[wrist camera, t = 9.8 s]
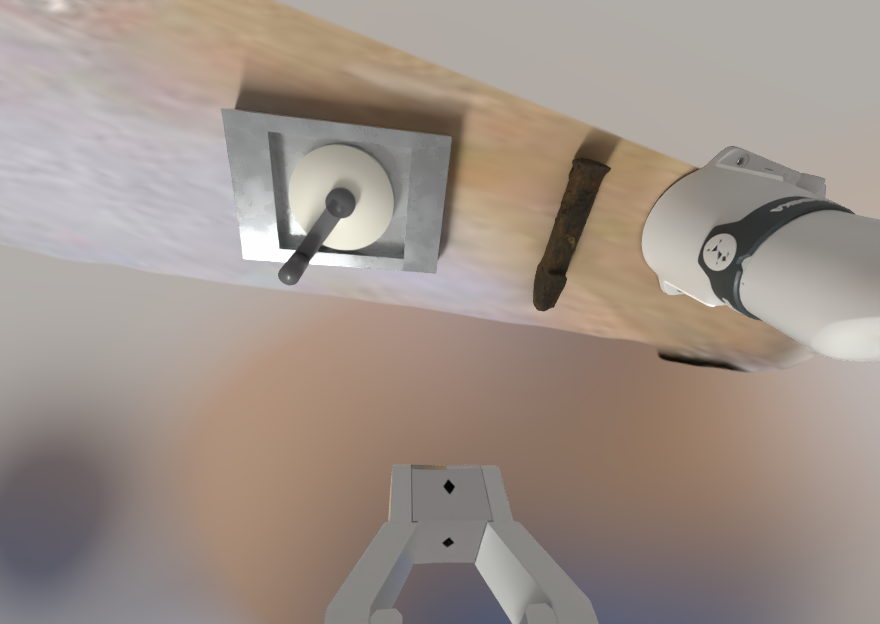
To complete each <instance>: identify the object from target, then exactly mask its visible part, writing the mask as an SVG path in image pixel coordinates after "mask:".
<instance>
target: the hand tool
mask: <svg viewBox="0 0 880 624" xmlns="http://www.w3.org/2000/svg"><path fill="white" fill-rule="evenodd" d="M572 163H573V167H574V168H573V170H572V171H571V172H570V174H569V183H568V186H567V189H566V192H565V194H564V196H563V199H562V202H561V207H560V210H559V213H558V216H557V218H556V219H555V224H554V227H553V230H552V233H551V236H550V239H549V242H548V245H547V248H546V251H545V254H544V256H543V260H542V262H541V264H539V265H538V267H537V271H536V275H535V281H534V291H533V303H534V306H535V307H536V309H537V310H538V311H546V310H548V309H550V308H552V307H554V306H555V304H556V302H557V300H558V298H559V296H560V294H561V292H562V290H563V289H564V287H565V284H566V281H567V278H566V276H565V275H566V272H567V269H568V266H569V263H570V260H571V257H572V255H573V253H574V251H575V248H576V246H577V243H578V241H579V238H580V236H581V234H582V231H583V229H584V226H585V224H586V220H587V218H588V216H589V213H590V211H591V208H592V206H593V203H594V200H595V197H596V194H597V192H598V190H599V186H600V184H601V182H602V180H603V178H604V176H605V174H607V173H608V172H609V171H610V170H611V168H610V167H608V166H606V165H604V164H602V163H600V162H596V161H593V160H590V159H583V158H581V159H574V160H573V161H572Z"/></svg>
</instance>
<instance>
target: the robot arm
mask: <svg viewBox="0 0 880 624" xmlns="http://www.w3.org/2000/svg"><path fill="white" fill-rule="evenodd" d="M739 159H740V160H739ZM738 160H739V162H738V163H737V161H738ZM824 182H825V179H824V178H821V177H818V176H814V175H809V174H804V173H802V174H801V173H799V172H796V171H794V170H792V169H789V168H787V167H785V166H782V165H780V164H777V163H775V162H772V161H770V160H768V159H765V158H763V157H761V156H758V155H755V154H753V153H751V152H749V151H746V150H744V149H741V148H738V147H735V146H730V147H727V148H725V149H724V150H723V151H721V152H720V153H719V154H718V155H717V156H715V157H714V158H713V159H712V160H711V161H710V162H709V163H708V164H707V165H706V166H704V167H703V168H701V169H699V170H697V171H695V172H693V173H691V174H689V175H687V176H685V177H684V178H682V179H681V180H679V181H678V182H676V183H675V184H674V185H673V186H671V187H670V188H669V189H668V190H667V191H666V192H665V193H664V194H663V195H662V196H661V198H660V199H659V200H658V201H657V203H656V204H655V206H654V207H653V209H652V210H651V212H650V214H649V216H648V218H647V221H646V223H645V226H644V230H643V235H642V250H643V255H644V258H645V260H646V262H647V264H648V265H649V266H650V268H651V269H652V270H653V271H654V272H655V273H656V274H657V275H658V278H659V283H660V287H661V289H662V291H663V292H665V293H667V294H669V295H677V294H687V295H689V296H691V297H693V298H694V299H696V300H698V301H700V302H702V303H704V304H706V305H708V306H711V307H714V306H716V305H728V306H729V307H730V308H732V309H733V310H735V311H737V312H738V313H741V314H743V315H746V316H748V317H750V318H753V319H756V320H761V321H764V322H766V323H768V324H769V325H771V326H773V327H774V328H776V329H778V330H780V331H781V332H783V333H785V334H786V335H788V336H790V337H791V338H793V339H795V340H796V341H798V342H800V343H801V344H803V345H805V346H806V347H808V348H810V349H811V350H813V351H815V352H816V353H818V354H821V355H823V356H826V357H830V358H834V359H840V360H847V361H857V362H871V361H880V220H878V219H873V218H868V217H864V216H859V215H856V214H855V213H853V212H852V211H851V210H849V209H847V208H845V207H843V206H841V205H839V204H837V203H835V202H833V201H830V200H827V199H826V198H825V193H826V186H825V184H824ZM388 521H389V522H385V523H384V524H383V525H382V527H381V528H380V530H379V531H378V533H377V534H376V536H375V537H374V539H373V540H372V542H371V543H370V545H369V546H368V548H367V549H366V551H365V552H364V554H363V555H362V557H361V558H360V560H359V561H358V563H357V564H356V566H355V567H354V569H353V570H352V572H351V573H350V575H349V576H348V578H347V579H346V581H345V582H344V584H343V585H342V586H341V588H340V589H339V591H338V592H337V594H336V595H335V597H334V598H333V600H332V601H331V603H330V604H329V606H328V607H327V609H326V614H325V620H324V624H402V615H401V614H400V613H399V612H398V611H397V610H396V609H391V608H392V606H393V604H394V602H395V600H396V598H397V596H398V594H399V592H400V590H401V588H402V586H403V584H404V582H405V580H406V578H407V576H408V574H409V572H410V570H411V568H412V564H420V563H440V562H465V563H467V562H468V563H475V565H476V566H477V568H478V570H479V572H480V573H481V575H482V576H483V578H484V579H485V581H486V583H487V584H488V586H489V587H490V589H491V590H492V592H493V593H494V595H495V597H496V598H497V600H498V601H499V603H500V605H501V606H502V608H503V609H504V611H505V612H506V614H507V616H508V617H509V619H510V620H511V622H512V623H513V624H598V621H597V618H596V615H595V613H594V610H593V607H592V604H591V602H590V600H589V599H588V598H587V597H586V596H585V594H584V593H583V592H582V591H581V590H580V589H579V588H578V587H577V586H576V585H575V583H574V582H573V581H572V580H571V579H570V578H569V577H568V576H567V575H566V573H565V572H564V571H563V570H562V569H561V568H560V567H559V566H558V565H557V563H556V562H555V561H554V560H553V559H552V558H551V557H550V556H549V555H548V554H547V552H546V551H545V550H544V549H543V548H542V547H541V546H540V545H539V544H538V543H537V541H536V540H535V539H534V538H533V537H532V536H531V535H530V534H529V533H528V531H527V530H526V529H525V528H524V527H523V526H522V525H521V524H520V523H519V522H517V521H513V518H512V515H511V511H510V507H509V503H508V499H507V495H506V492H505V488H504V484H503V480H502V476H501V473H500V469H499V468H498V466H479V465H445V466H435V465H433V466H432V465H409V464H393V466H392V477H391V489H390V502H389V520H388Z"/></svg>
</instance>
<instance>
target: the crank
mask: <svg viewBox="0 0 880 624" xmlns="http://www.w3.org/2000/svg"><path fill="white" fill-rule="evenodd" d="M289 201H290V206H291V209H292V212H293V214H294V216H295V219H296V220H297V222H298V223H299V225H300V226H301V228H302V229H303V230H304V231H305V232H306V233H307V236H306V237H305V239H304V240H303V241H302V243H301V244H300V246H299V247H298V249H297V250H296V251H295V253H293V254H292V255H291V257H290V258H289V259H288V260H287V262H286V263H285V264H284V266H283V267H282V268H281V269H280V271H279V273H278V276H279V279H280V280H281V282H283V283H284V284H286V285H294V284H296V283H297V282H298V280H299V279H300V277H301V276H302V274H303V273H304V271H305V269H306V268H307V266H308V265H309V262H310V260H311V259H312V258H313V256H314V255H315V254H316V252H317V251H318V249H319V248H320V247H321V245H322V244H323V245H325V246H327V247H330V248H333V249H338V250H355V249H360V248H363V247H366V246H368V245H370V244H372V243H373V242H375V241H376V240H377V239H378V238H380V237H381V235H382V234H383V233H384V232H385V230H386V229H387V227H388V225H389V223H390V221H391V218H392V214H393V208H394V192H393V187H392V184H391V181H390V178H389V176H388V174H387V172H386V171H385V169H384V168H383V166H382V165H381V164H380V163H379V162H378V161H377V160H376V159H375V158H374V157H373V156H372V155H370V154H369V153H368V152H366V151H364V150H362V149H360V148H358V147H355V146H352V145H348V144H330V145H325V146H322V147H320V148H317V149H315V150H313V151H311V152H310V153H308V154H307V155H305V156H304V157H303V158H302V159H301V160H300V161H299V163H298V164H297V165H296V167H295V169H294V171H293V173H292V175H291V178H290V183H289Z"/></svg>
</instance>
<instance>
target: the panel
mask: <svg viewBox="0 0 880 624" xmlns="http://www.w3.org/2000/svg"><path fill="white" fill-rule="evenodd" d="M221 110H222V117H223V124H224V130H225V137H226V144H227V151H228V157H229V164H230V171H231V177H232V184H233V191H234V197H235V204H236V211H237V217H238V224H239V231H240V238H241V244H242V251H243V258H244V259H252V260H265V261H278V262H287V260H288V259H289V258H290V257H291V255H292V254H293V253H295V251H296V250H297V249H298V247H299V246H300V244H301V243H302V241H303V240H304V239H305V237H306V236H307V233H306V232H305V231H304V230H303V229H302V228H301V226H300V225H299V223H298V222H297V220H296V219H295V216H294V214H293V212H292V209H291V206H290V201H289V183H290V178H291V175H292V173H293V171H294V169H295V167H296V165H297V164H298V163H299V161H300V160H301V159H302V158H303V157H304V156H305V155H307V154H308V153H310V152H311V151H313V150H315V149H317V148H320V147H322V146H325V145H330V144H348V145H352V146H355V147H358V148H360V149H362V150H364V151H366V152H368V153H369V154H370V155H372V156H373V157H374V158H375V159H376V160H377V161H378V162H379V163H380V164H381V165H382V166H383V168H384V169H385V171H386V172H387V174H388V176H389V178H390V181H391V184H392V187H393V192H394V208H393V214H392V218H391V221H390V223H389V225H388V227H387V229H386V230H385V232H384V233H383V234H382V235H381V237H380V238H378V239H377V240H376V241H375V242H373V243H372V244H370V245H368V246H366V247H363V248H360V249H355V250H338V249H333V248H330V247H327V246H325V245H323V244H322V245H321V247H320V248H319V249H318V251H317V252H316V254H315V255H314V256H313V258H312V259H311V260H310V262H309V264H318V265H331V266H344V267H358V268H371V269H384V270H397V271H410V272H424V273H436V270H437V261H438V253H439V244H440V236H441V227H442V219H443V210H444V202H445V193H446V185H447V176H448V168H449V159H450V151H451V142H452V136H450V135H445V134H437V133H429V132H421V131H413V130H405V129H396V128H388V127H380V126H372V125H364V124H356V123H348V122H339V121H331V120H323V119H315V118H307V117H299V116H291V115H282V114H274V113H266V112H258V111H250V110H242V109H221Z"/></svg>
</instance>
